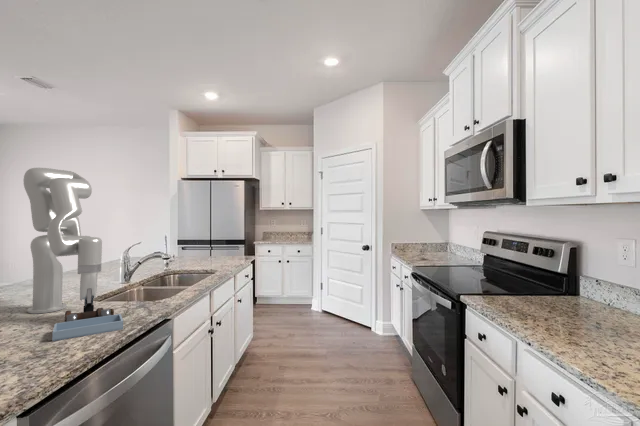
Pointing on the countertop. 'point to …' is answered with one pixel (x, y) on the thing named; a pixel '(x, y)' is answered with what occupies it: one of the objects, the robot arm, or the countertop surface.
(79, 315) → the bolt
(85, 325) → the tray
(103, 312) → the peg
